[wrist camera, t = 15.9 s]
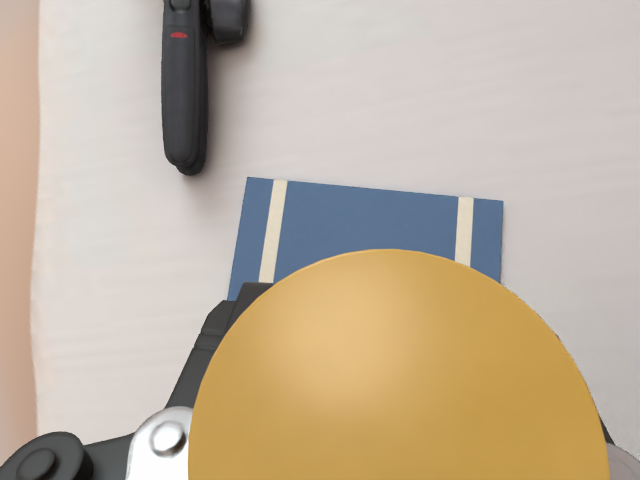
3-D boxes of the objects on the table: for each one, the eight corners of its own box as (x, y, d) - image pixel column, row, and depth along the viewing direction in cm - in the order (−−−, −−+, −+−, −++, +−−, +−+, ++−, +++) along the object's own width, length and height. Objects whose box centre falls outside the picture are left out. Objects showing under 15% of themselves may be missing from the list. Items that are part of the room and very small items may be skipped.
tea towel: (501, 202, 28) (503, 200, 27) (494, 366, 26) (497, 367, 25) (248, 178, 29) (246, 176, 29) (223, 330, 27) (221, 331, 27)
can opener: (174, -23, 33) (140, -90, 28) (257, -24, 33) (238, -93, 27) (146, 180, 30) (100, 149, 25) (237, 182, 29) (211, 151, 24)
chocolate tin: (479, 377, 14) (711, 483, 5) (361, 490, 13) (380, 828, 4) (369, 260, 15) (396, 173, 6) (258, 362, 14) (108, 429, 5)
